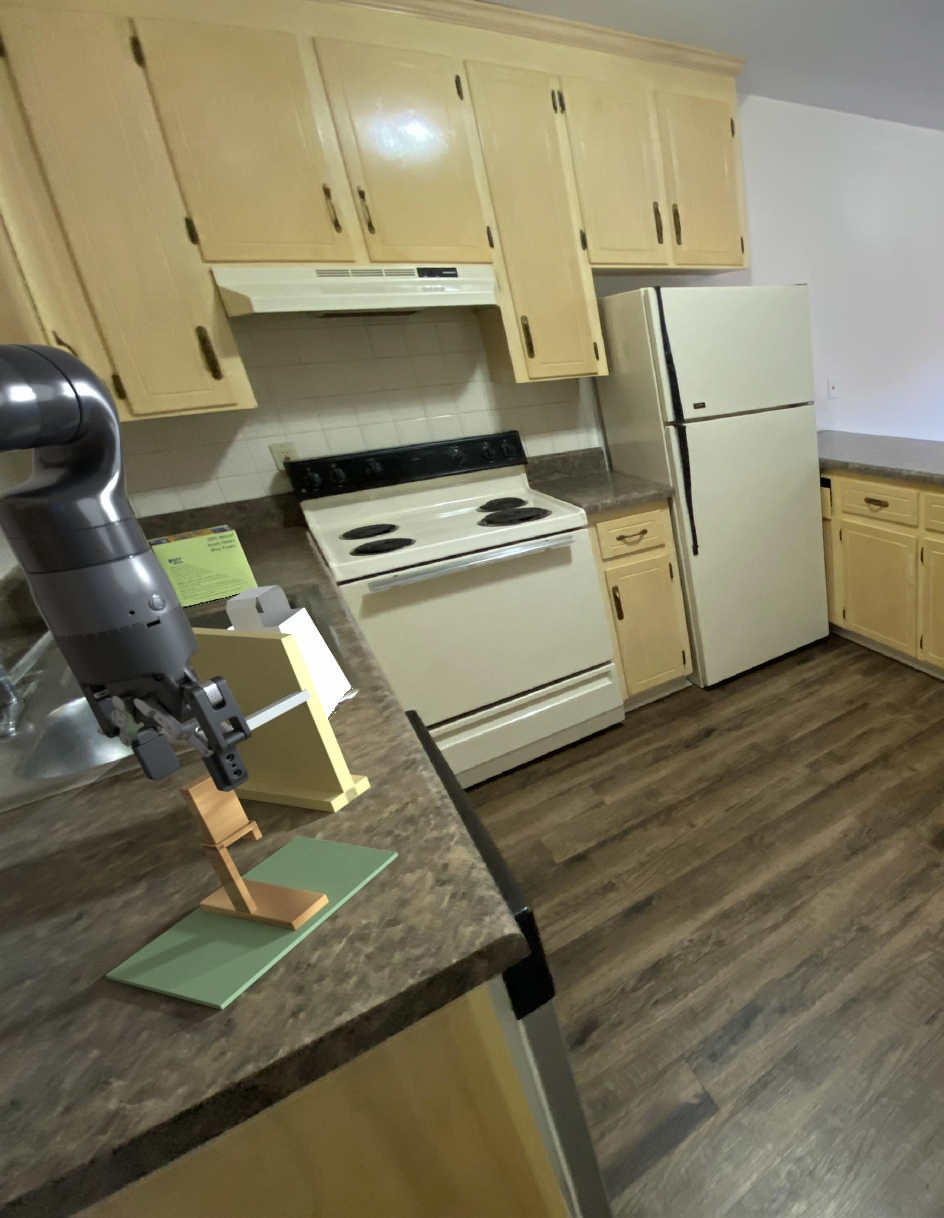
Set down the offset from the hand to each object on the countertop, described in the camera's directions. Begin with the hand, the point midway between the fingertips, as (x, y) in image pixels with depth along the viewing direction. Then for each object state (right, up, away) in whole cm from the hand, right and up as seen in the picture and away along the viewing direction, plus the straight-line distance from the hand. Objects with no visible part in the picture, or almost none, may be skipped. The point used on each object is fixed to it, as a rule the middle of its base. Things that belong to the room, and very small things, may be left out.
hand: (200, 780), depth 59 cm
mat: (+1, -14, +6) cm, 16 cm away
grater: (-24, -1, +44) cm, 50 cm away
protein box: (-91, +18, +103) cm, 139 cm away
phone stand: (0, -7, +3) cm, 7 cm away
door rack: (-10, -9, +20) cm, 25 cm away
